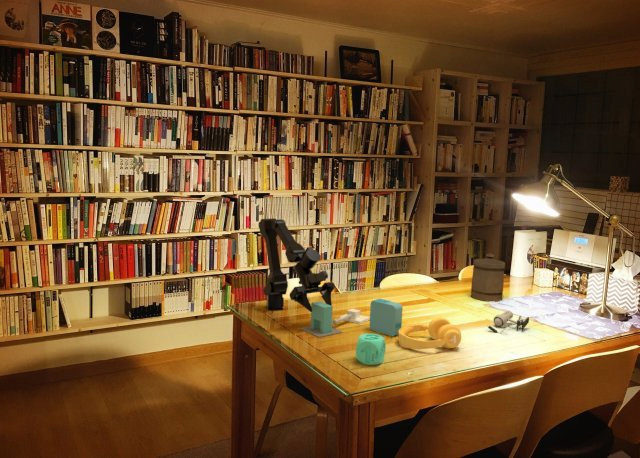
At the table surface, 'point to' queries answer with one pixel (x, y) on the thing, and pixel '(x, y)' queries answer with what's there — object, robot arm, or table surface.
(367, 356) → the decorative dice
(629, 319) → the table surface
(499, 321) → the clip-on lamp
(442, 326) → the headset
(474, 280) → the wooden container
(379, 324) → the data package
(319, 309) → the teal arch block
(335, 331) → the grey mat
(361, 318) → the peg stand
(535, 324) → the table surface
